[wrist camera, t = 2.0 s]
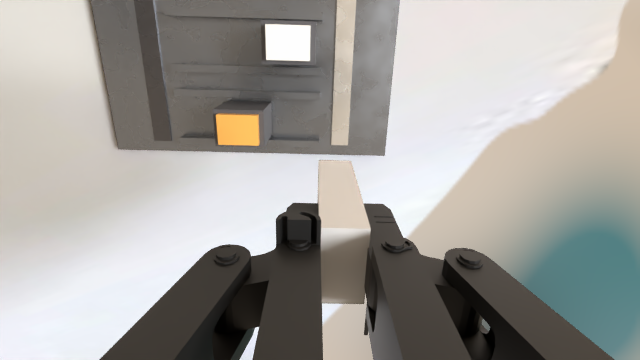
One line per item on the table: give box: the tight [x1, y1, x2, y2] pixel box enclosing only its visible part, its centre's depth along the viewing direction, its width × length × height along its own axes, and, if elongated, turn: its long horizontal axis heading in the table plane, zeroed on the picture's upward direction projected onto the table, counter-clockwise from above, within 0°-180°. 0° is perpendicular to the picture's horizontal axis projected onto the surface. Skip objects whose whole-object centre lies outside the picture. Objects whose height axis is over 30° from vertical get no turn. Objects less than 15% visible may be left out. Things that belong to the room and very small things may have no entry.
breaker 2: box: [261, 20, 316, 65], centre depth 27 cm, size 4×3×6 cm
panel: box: [91, 0, 400, 156], centre depth 30 cm, size 26×20×2 cm
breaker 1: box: [213, 100, 272, 147], centre depth 30 cm, size 4×3×6 cm
